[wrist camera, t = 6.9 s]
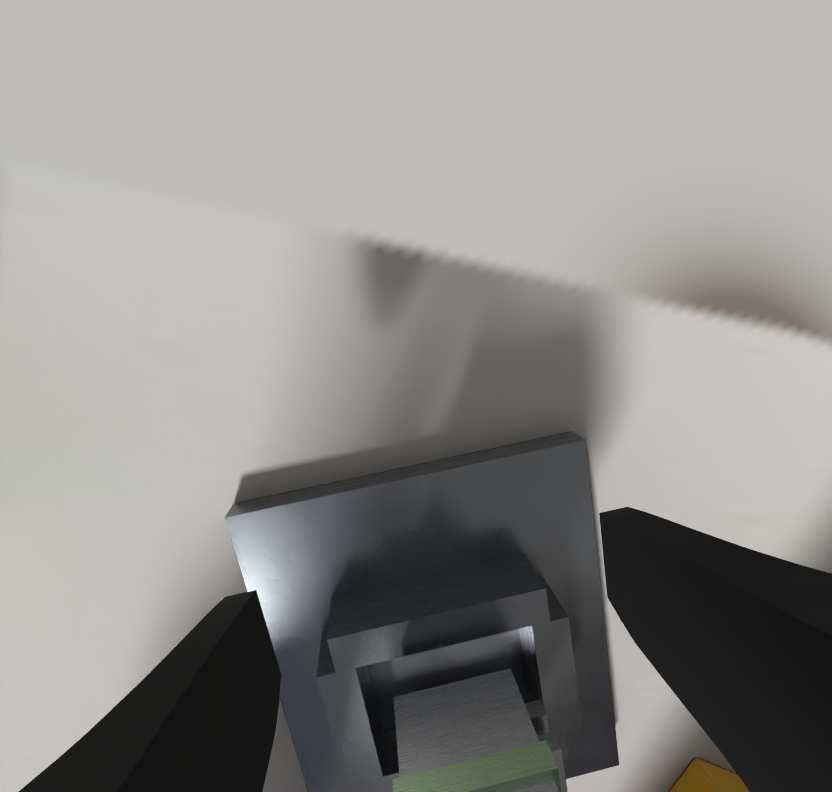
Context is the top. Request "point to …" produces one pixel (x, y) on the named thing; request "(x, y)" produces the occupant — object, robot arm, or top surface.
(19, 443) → the top surface
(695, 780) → the supplement box
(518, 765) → the gray slotted block
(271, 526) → the stand base
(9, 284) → the top surface
